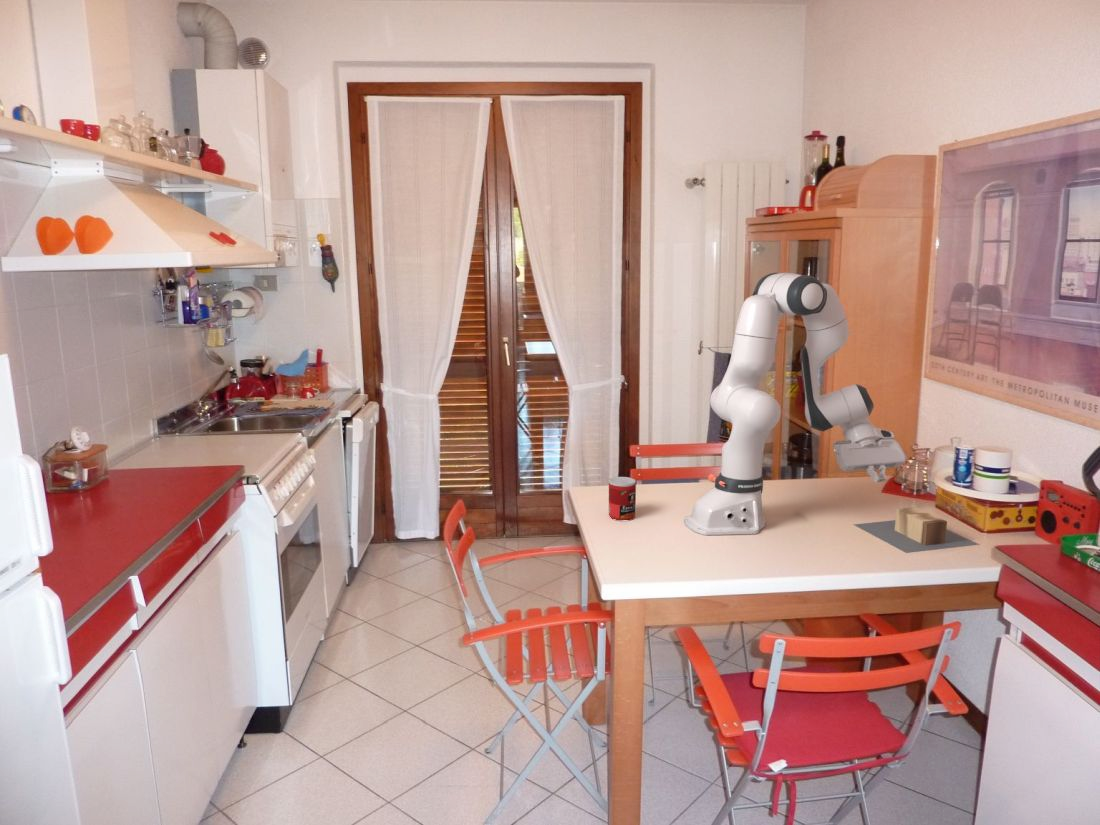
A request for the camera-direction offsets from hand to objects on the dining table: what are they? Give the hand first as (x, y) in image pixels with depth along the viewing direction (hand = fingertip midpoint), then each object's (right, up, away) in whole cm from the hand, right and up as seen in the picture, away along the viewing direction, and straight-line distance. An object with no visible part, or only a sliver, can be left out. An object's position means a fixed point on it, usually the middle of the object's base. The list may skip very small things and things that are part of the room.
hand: (881, 480), depth 227 cm
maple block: (+3, -10, -9) cm, 13 cm away
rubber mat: (+4, -14, -12) cm, 19 cm away
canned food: (-73, -11, +5) cm, 74 cm away
